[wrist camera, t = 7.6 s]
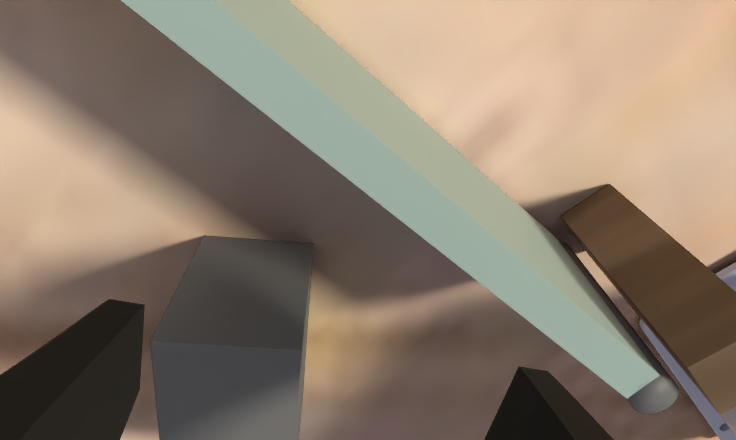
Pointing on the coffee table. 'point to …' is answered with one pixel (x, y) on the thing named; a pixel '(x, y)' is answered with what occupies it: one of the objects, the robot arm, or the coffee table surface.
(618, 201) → the door frame
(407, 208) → the door
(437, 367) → the coffee table surface
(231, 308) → the block
